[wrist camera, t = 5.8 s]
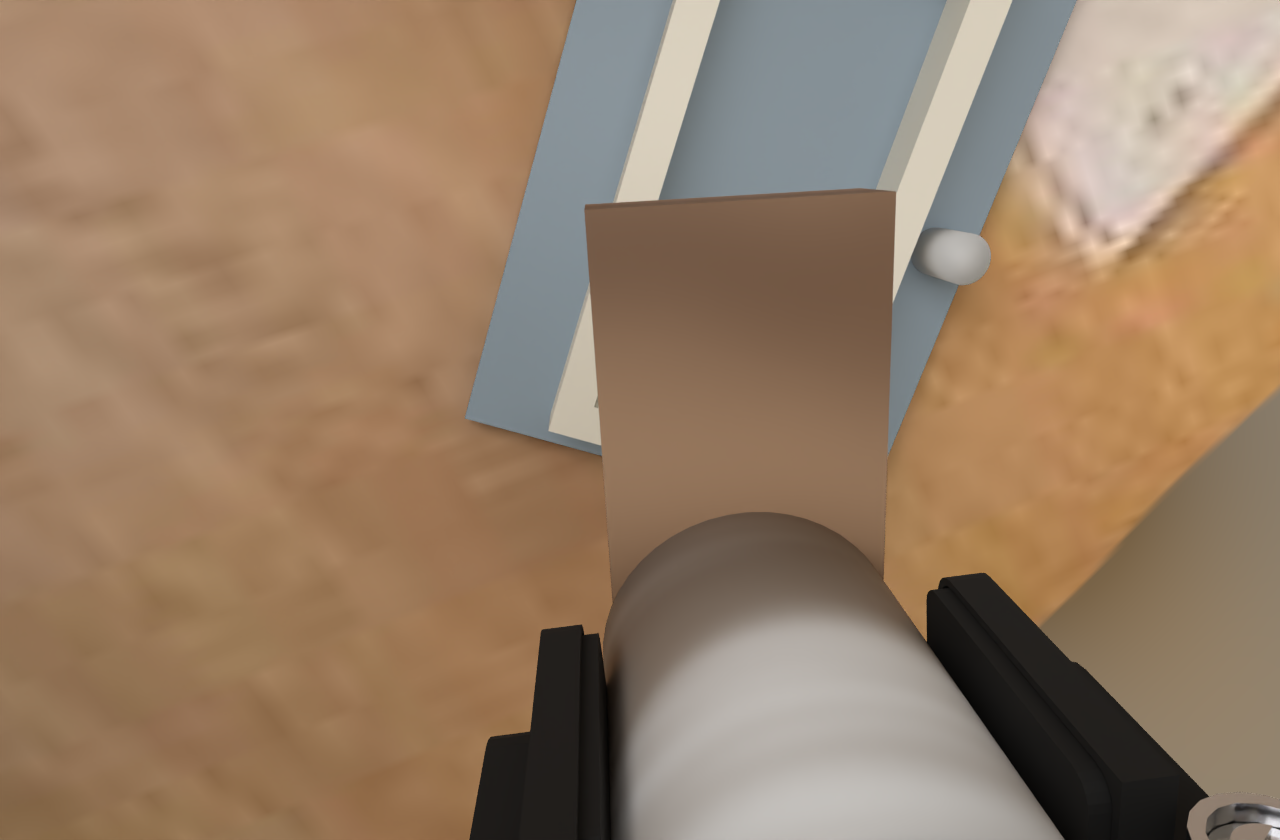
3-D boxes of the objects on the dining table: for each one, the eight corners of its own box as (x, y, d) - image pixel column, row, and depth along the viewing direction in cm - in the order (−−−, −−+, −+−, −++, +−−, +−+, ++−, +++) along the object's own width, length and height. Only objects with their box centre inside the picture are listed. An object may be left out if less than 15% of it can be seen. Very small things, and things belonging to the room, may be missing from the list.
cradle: (467, 411, 30) (454, 440, 27) (638, -227, 25) (647, -284, 22) (852, 517, 32) (881, 555, 29) (1084, -49, 27) (1151, -76, 24)
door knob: (570, 205, 12) (540, 265, 5) (874, 187, 12) (1272, 220, 5) (625, 914, 16) (653, 1530, 9) (855, 893, 16) (1069, 1481, 9)
